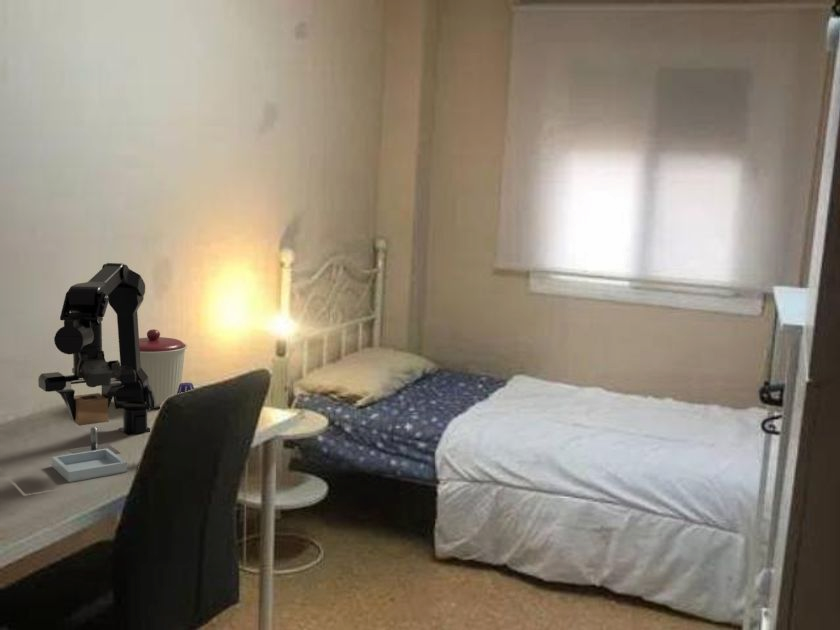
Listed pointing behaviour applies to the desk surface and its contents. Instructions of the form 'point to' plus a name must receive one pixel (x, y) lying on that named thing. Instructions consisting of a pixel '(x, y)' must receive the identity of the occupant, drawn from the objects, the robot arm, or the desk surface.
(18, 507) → the desk surface
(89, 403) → the wooden block with hole
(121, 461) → the tray
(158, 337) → the canister
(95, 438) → the grey peg stand
